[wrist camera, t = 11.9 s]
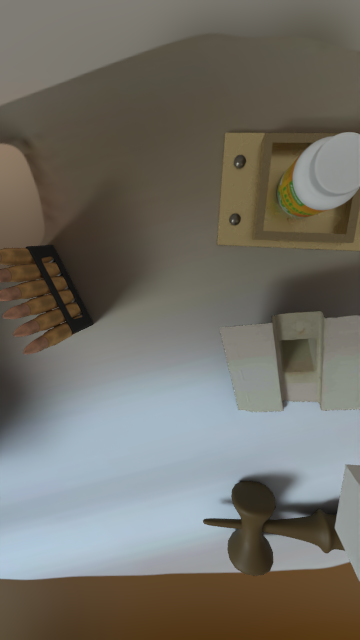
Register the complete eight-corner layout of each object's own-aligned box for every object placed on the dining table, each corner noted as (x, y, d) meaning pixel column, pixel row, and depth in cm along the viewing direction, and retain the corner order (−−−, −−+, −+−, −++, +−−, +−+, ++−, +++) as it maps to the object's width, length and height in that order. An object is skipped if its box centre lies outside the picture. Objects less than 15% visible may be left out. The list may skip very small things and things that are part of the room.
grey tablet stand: (365, 343, 37) (398, 261, 25) (386, 411, 32) (438, 348, 21) (237, 352, 42) (215, 287, 30) (238, 412, 37) (213, 362, 26)
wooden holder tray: (217, 244, 32) (217, 244, 30) (224, 135, 30) (226, 124, 27) (377, 251, 31) (391, 251, 28) (400, 135, 28) (419, 124, 25)
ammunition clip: (93, 324, 36) (38, 358, 25) (81, 329, 37) (20, 366, 25) (53, 244, 35) (-28, 242, 23) (40, 251, 35) (-46, 251, 23)
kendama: (345, 541, 40) (202, 530, 42) (353, 482, 38) (203, 473, 40) (368, 589, 35) (202, 574, 36) (379, 523, 33) (203, 510, 34)
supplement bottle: (265, 197, 30) (288, 173, 21) (301, 150, 29) (342, 102, 19) (305, 228, 30) (345, 219, 21) (342, 183, 29) (403, 152, 20)
